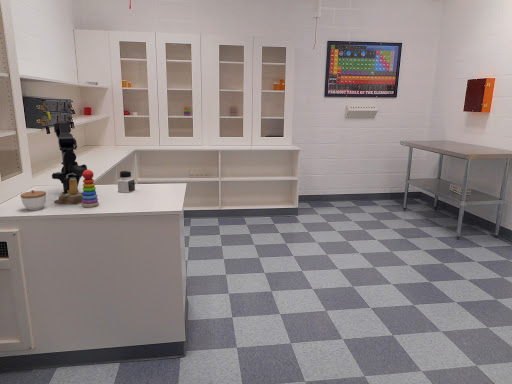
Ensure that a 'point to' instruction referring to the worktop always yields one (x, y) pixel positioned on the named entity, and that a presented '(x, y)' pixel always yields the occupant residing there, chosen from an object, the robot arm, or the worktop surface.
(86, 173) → the stacking toy
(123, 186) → the medicine bottle
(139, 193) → the worktop surface
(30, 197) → the lidded jar
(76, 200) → the walnut plinth
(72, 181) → the amber jar
